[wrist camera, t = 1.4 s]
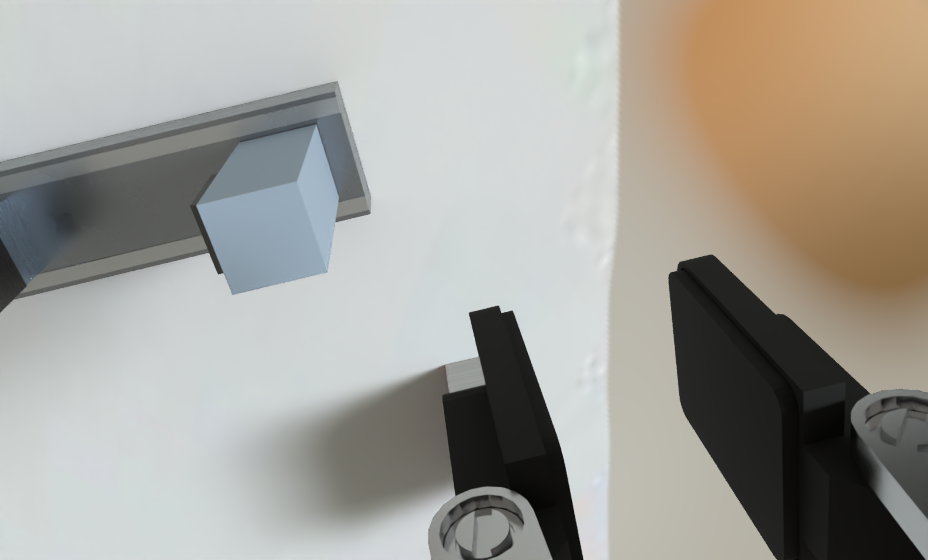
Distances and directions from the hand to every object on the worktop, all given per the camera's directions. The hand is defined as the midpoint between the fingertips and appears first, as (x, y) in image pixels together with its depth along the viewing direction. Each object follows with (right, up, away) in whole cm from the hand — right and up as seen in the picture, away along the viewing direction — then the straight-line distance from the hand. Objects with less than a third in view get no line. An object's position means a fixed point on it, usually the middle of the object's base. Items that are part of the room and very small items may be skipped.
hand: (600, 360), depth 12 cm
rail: (-15, +5, +17) cm, 23 cm away
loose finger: (-9, +6, +15) cm, 19 cm away
